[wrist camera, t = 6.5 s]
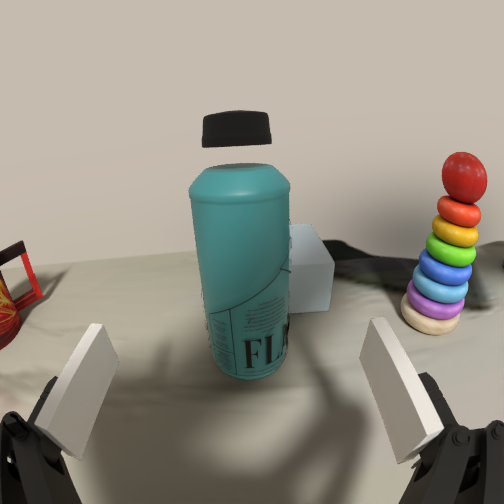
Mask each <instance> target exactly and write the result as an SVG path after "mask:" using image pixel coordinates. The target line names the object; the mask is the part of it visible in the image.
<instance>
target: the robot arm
mask: <svg viewBox="0 0 504 504" xmlns="http://www.w3.org/2000/svg"><path fill="white" fill-rule="evenodd" d="M503 267H504V261H503ZM359 359H360V361H361V364H362V366H363V369H364V371H365V374H366V376H367V379H368V381H369V384H370V387H371V389H372V392H373V394H374V397H375V400H376V403H377V405H378V408H379V411H380V413H381V416H382V419H383V422H384V425H385V428H386V431H387V433H388V436H389V439H390V442H391V445H392V448H393V452H394V455H395V458H396V461H397V464H400V463H403V462H406V461H409V460H411V459H413V458H415V457H416V456H417V455H418V454H420V457H421V458H420V459H419V460H418V461H417V462H416V463H415V464H413V466H412V467H411V468H412V469H413V468H415V467H416V469H415V471H414V473H413V476H412V478H411V480H410V482H409V484H408V486H407V488H406V490H405V492H404V494H403V496H402V498H401V500H400V502H399V504H504V423H503V422H502V421H499V420H495V421H492V422H491V423H490V424H489V425H488V426H487V427H486V428H481V429H474V430H469V429H468V428H467V427H465V426H460V425H459V424H458V423H457V421H456V420H455V418H454V416H453V414H452V412H451V410H450V408H449V406H448V404H447V402H446V400H445V398H444V397H443V394H442V393H441V391H440V390H439V387H438V385H437V383H436V382H435V380H434V379H433V378H432V377H431V376H430V375H429V374H428V373H427V372H425V373H421V374H417V373H416V371H415V369H414V367H413V365H412V363H411V362H410V360H409V358H408V356H407V354H406V353H405V351H404V349H403V347H402V346H401V344H400V342H399V341H398V339H397V337H396V335H395V334H394V332H393V330H392V329H391V327H390V325H389V324H388V322H387V320H386V319H385V317H378V318H371V319H370V323H369V326H368V330H367V333H366V337H365V340H364V344H363V347H362V350H361V354H360V357H359ZM119 363H120V361H119V359H118V357H117V354H116V352H115V350H114V348H113V346H112V344H111V341H110V339H109V337H108V335H107V332H106V330H105V328H104V325H103V324H93V323H92V324H91V325H90V327H89V328H88V330H87V331H86V333H85V334H84V336H83V337H82V339H81V341H80V342H79V344H78V345H77V347H76V349H75V350H74V352H73V353H72V355H71V357H70V358H69V360H68V362H67V363H66V365H65V367H64V369H63V370H62V372H61V374H60V375H59V377H56V376H55V377H54V378H52V379H51V380H50V381H49V382H48V383H47V385H46V387H45V389H44V392H42V394H41V396H40V399H39V400H38V402H37V404H36V405H35V407H34V409H33V411H32V413H31V415H30V417H29V419H28V421H27V422H26V421H25V420H24V419H23V418H22V417H21V416H20V415H19V414H18V413H17V412H14V411H12V412H8V413H7V414H5V415H4V417H3V418H2V421H1V423H0V504H82V502H81V500H80V498H79V496H78V494H77V492H76V489H75V487H74V485H73V482H72V480H71V477H70V475H69V472H68V469H67V467H66V464H65V461H64V458H63V456H62V455H61V454H60V453H61V450H63V451H64V452H65V453H66V454H67V455H69V456H71V457H74V458H76V459H79V460H81V459H82V456H83V454H84V451H85V448H86V445H87V442H88V439H89V436H90V434H91V431H92V428H93V426H94V423H95V420H96V418H97V415H98V413H99V410H100V408H101V405H102V403H103V400H104V398H105V395H106V393H107V390H108V388H109V386H110V383H111V381H112V379H113V376H114V374H115V372H116V370H117V367H118V365H119ZM7 456H8V457H9V458H10V459H11V463H9V462H8V461H7Z"/></svg>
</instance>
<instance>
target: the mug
mask: <svg viewBox="0 0 504 504" xmlns="http://www.w3.org/2000/svg"><path fill="white" fill-rule="evenodd" d="M19 255H21V258H22V261H23V264H24V267H25V270H26V272H27V275H28V278H29V280H30V283H31V286H32V288H33V289H32V290H30V291H28V292H27V293H25V294H23V295H22V296H20V297H19V298H17V299H15V300H14V301H13V300H12V298H11V296H10V293H9V291H8V289H7V286H6V284H5V281H4V279H3V276H2V273H1V271H0V350H1V349H3V348H4V347H6V346H7V345H8V344H9V343H10V342H11V341H12V340H13V339H14V338H15V337H16V335H17V334H18V332H19V330H20V328H21V324H22V320H21V317H20V315H19V313H18V312H19V311H21V310H22V309H24V308H25V307H27V306H28V305H30V304H31V303H33V302H34V301H36V300H38V299H40V298H41V297H43V295H42V292H41V290H40V287H39V285H38V282H37V280H36V277H35V274H34V273H33V270H32V267H31V265H30V262H29V259H28V255H27V252H26V249H25V246H24V242H23V241H20V242H18V243H16V244H14V245H12V246H10V247H8V248H6V249H4V250H2V251H0V266H1V265H3V264H5V263H7V262H8V261H10V260H12V259H14V258H16V257H18V256H19Z"/></svg>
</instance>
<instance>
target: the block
mask: <svg viewBox="0 0 504 504" xmlns="http://www.w3.org/2000/svg"><path fill="white" fill-rule="evenodd" d="M291 227H292V228H291ZM289 229H290V236H291V237H292V239H290V247H291V241H292V248H290V247H289V250H290V251H289V271H291V273H289V289H288V290H289V293H290V295H289V293H288V295H289V297H288V307H289V308H288V310H289V313H306V312H320V311H329V306H330V299H331V291H332V284H333V275H334V267H335V262H334V261H333V259H332V257H331V256H330V254H329V252H328V251H327V249H326V247H325V246H324V244H323V242H322V241H321V239H320V237H319V236H318V234H317V233H316V231H315V229H314V228H313V226H312V224H289ZM291 258H292V263H291V261H290V260H291ZM290 263H291V264H290Z"/></svg>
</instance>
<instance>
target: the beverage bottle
mask: <svg viewBox="0 0 504 504" xmlns="http://www.w3.org/2000/svg"><path fill="white" fill-rule="evenodd" d="M271 143H272V139H271V133H270V127H269V117H268V114H267V113H265V112H258V111H243V110H238V111H226V112H221V113H216V114H211V115H207V116H205V117H204V119H203V136H202V147H203V148H209V147H228V146H229V147H230V146H248V145H265V144H271ZM289 192H290V183H289V181H288V180H287V179H286V178H285V176H283V175H282V174H281V173H280V172H279V171H278V170H277V169H276V168H275V167H274V166H272V165H268V164H258V163H238V164H225V165H218V166H213V167H209V168H206V169H205V170H204V171H203V172H202V173H201V174H200V175H199V176H198V177H197V178H196V179H195V181H194V182H193V183H192V185H191V186H190V188H189V197H190V199H191V208H192V216H193V225H194V233H195V241H196V249H197V256H198V263H199V270H200V277H201V283H202V290H203V299H204V307H205V313H206V319H207V325H208V326H207V325H206V327H207V328H208V332H209V337H210V342H211V346H210V347H211V348H212V353H213V357H214V360H215V362H216V363H217V365H218V366H219V368H220V369H221V370H222V371H224V372H225V373H226V374H228V375H230V376H233V377H235V378H239V379H258V378H262V377H265V376H267V375H269V374H271V373H273V372H274V371H275V370H276V369H277V368H278V367H279V366H280V365H281V363H282V362H283V361H284V360H283V359H284V357H285V353H286V348H287V346H288V337H287V335H288V329H289V322H288V326H287V316H288V317H289V318H290V316H289V310H288V308H289V307H288V297H289V295H290V293H289V290H288V289H289V273H291V271H289V251H290V250H289V247H290V239H292V237H291V236H290V229H289V220H290V219H289ZM291 228H292V227H291ZM290 248H292V241H291V247H290ZM290 261H291V263H292V258H291V260H290ZM291 263H290V264H291ZM288 293H289V295H288ZM201 296H202V291H201ZM202 306H203V305H202ZM203 312H204V311H203ZM207 328H206V329H207ZM208 340H209V339H208ZM209 345H210V344H209ZM287 349H288V348H287ZM287 352H288V351H287Z"/></svg>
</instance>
